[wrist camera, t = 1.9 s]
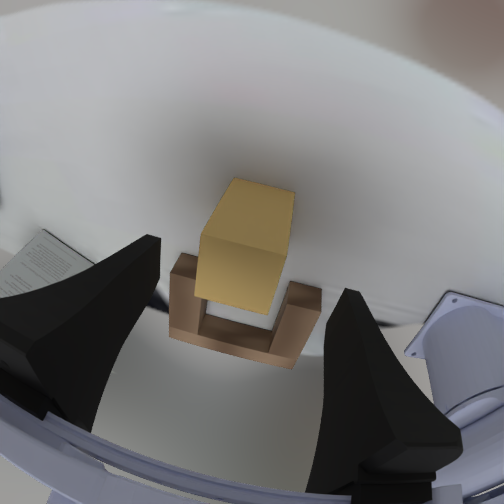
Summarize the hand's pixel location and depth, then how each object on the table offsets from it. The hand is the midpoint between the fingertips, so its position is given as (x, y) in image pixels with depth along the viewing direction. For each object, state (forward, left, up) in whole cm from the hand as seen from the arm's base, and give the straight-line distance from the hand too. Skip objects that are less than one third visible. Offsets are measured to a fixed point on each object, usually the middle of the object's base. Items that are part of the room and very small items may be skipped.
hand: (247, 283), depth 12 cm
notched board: (0, +10, -10) cm, 14 cm away
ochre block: (+1, +2, -10) cm, 10 cm away
